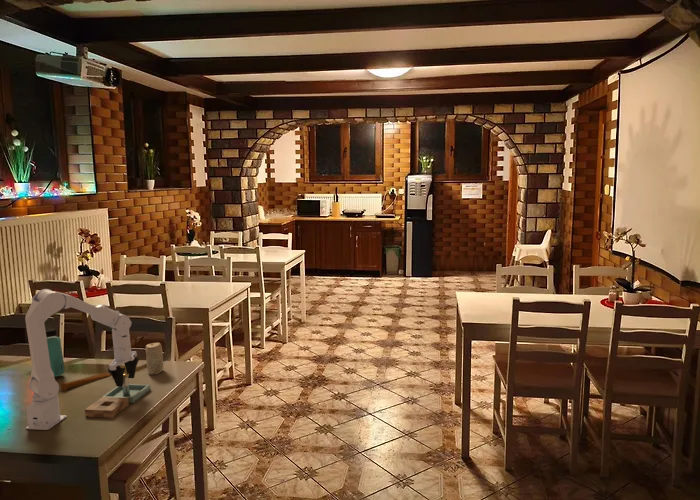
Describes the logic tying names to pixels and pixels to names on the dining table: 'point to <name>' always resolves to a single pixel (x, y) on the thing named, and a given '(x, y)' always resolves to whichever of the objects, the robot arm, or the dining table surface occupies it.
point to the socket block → (106, 407)
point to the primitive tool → (83, 381)
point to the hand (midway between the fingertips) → (125, 381)
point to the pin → (126, 385)
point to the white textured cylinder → (154, 358)
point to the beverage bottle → (55, 353)
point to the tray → (135, 392)
